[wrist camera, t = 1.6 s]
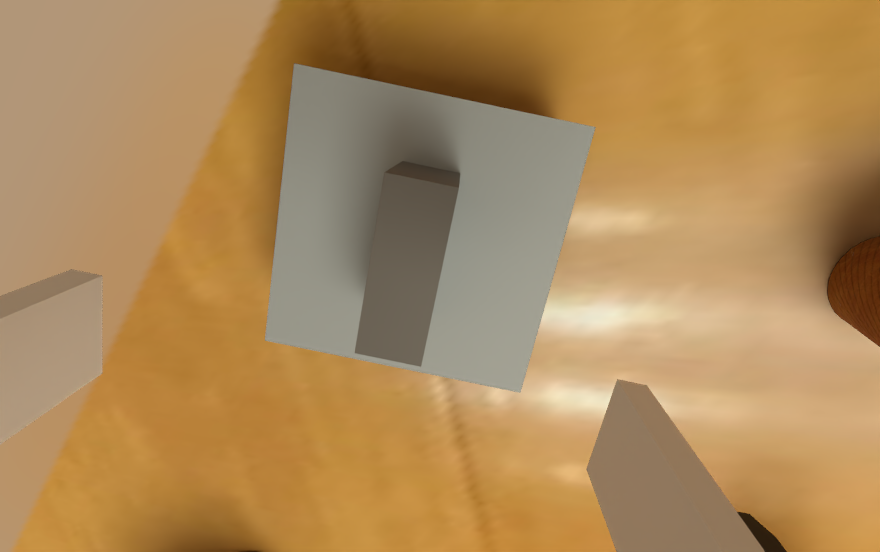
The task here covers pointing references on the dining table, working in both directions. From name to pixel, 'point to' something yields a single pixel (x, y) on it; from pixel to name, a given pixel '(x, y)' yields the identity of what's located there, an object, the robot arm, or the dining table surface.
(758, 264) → the dining table surface
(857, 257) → the disposable coffee cup
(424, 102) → the lid
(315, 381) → the dining table surface
